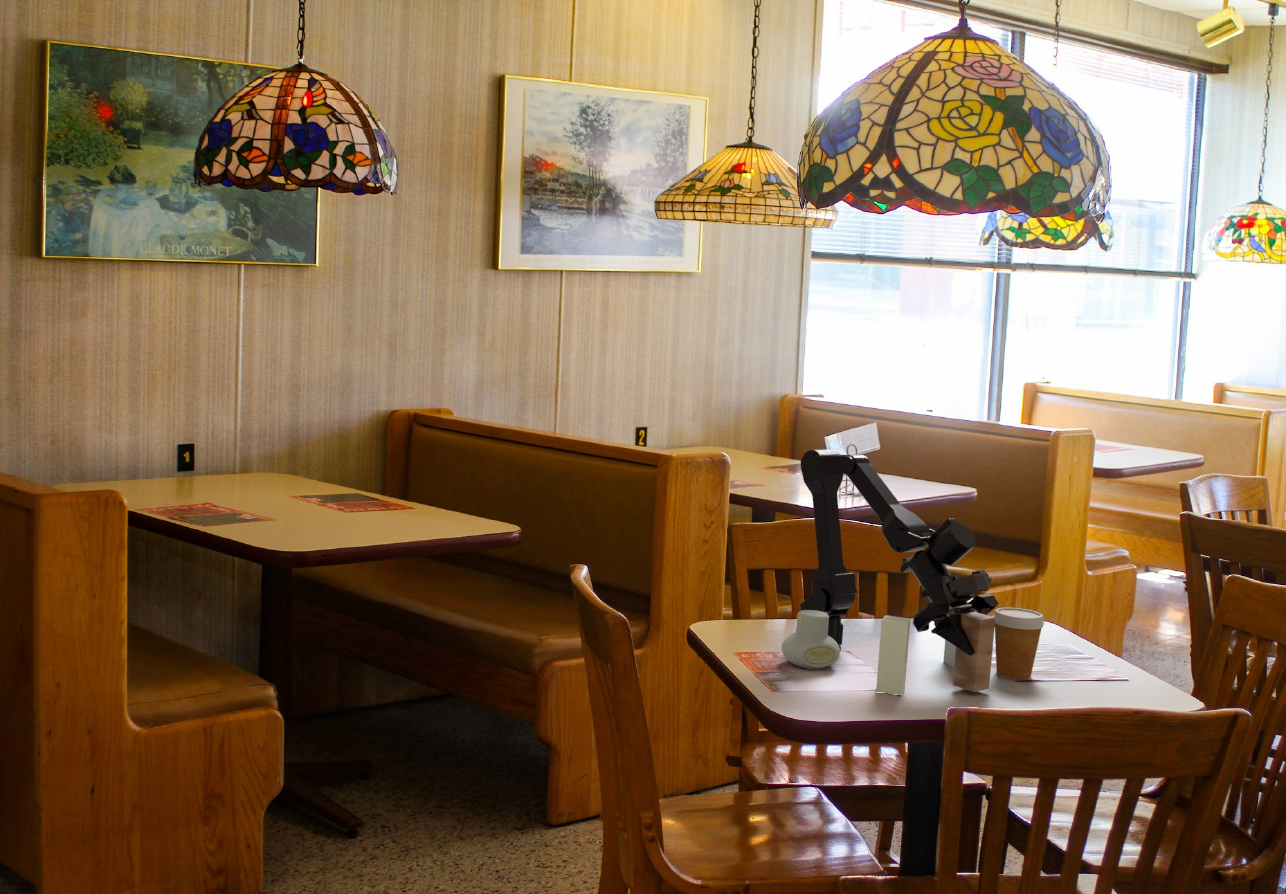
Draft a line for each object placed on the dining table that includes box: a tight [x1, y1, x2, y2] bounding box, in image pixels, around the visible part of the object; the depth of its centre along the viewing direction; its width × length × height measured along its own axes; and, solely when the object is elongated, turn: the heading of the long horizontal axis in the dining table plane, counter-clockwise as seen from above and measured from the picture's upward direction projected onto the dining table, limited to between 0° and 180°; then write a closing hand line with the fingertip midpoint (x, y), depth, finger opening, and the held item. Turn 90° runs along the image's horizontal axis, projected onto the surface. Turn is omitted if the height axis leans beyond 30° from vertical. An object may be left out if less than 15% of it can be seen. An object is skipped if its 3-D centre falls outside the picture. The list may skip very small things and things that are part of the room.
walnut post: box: [952, 612, 996, 693], centre depth 226 cm, size 4×4×13 cm
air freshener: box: [781, 610, 841, 670], centre depth 238 cm, size 11×8×10 cm
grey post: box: [942, 597, 974, 669], centre depth 244 cm, size 4×4×13 cm
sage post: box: [875, 615, 911, 697], centre depth 224 cm, size 4×4×13 cm
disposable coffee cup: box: [991, 607, 1046, 680], centre depth 240 cm, size 10×10×12 cm
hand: (980, 652), depth 225 cm, fingers closed on walnut post, 4 cm apart
